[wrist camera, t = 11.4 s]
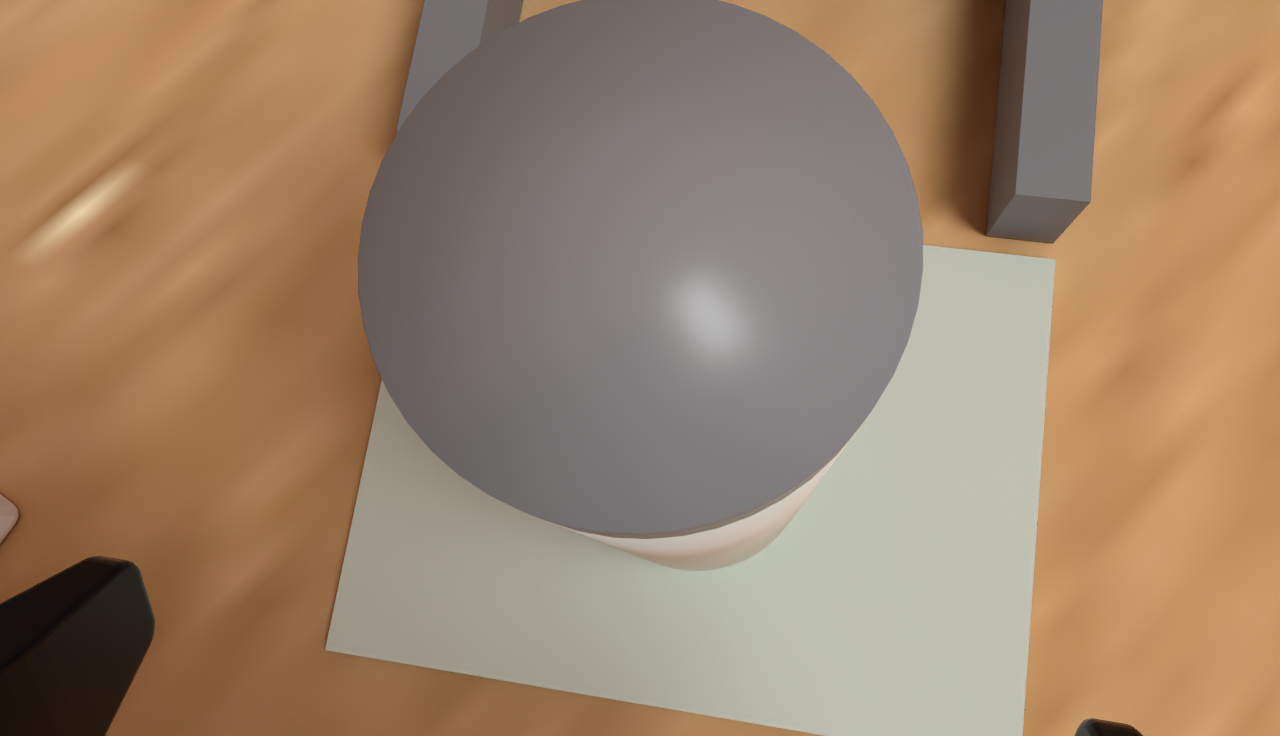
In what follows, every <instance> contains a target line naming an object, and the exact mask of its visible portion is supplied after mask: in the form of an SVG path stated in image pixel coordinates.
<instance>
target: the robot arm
mask: <svg viewBox="0 0 1280 736" xmlns="http://www.w3.org/2000/svg"><path fill="white" fill-rule="evenodd" d="M154 628H155V619H154V615H153V611H152V608H151V605H150V602H149V599H148V596H147V592H146V589H145V586H144V583H143V580H142V576H141V573H140V571H139V569H138V567H137V566H136V565H135V564H134V563H133V562H130V561H127V560H121V559H115V558H109V557H102V556H95V557H90V558H87V559H85V560H82V561H80V562H79V563H77V564H75V565H73V566H71V567H69V568H67V569H65V570H63V571H61V572H60V573H58V574H56V575H54V576H52V577H50V578H48V579H46V580H44V581H42V582H41V583H39V584H37V585H35V586H33V587H31V588H29V589H27V590H25V591H24V592H22V593H20V594H18V595H16V596H14V597H12V598H10V599H8V600H6V601H5V602H3V603H1V604H0V736H105V735H106V733H107V731H108V729H109V727H110V725H111V723H112V721H113V719H114V717H115V715H116V713H117V711H118V709H119V707H120V705H121V703H122V701H123V699H124V697H125V695H126V693H127V690H128V688H129V686H130V684H131V682H132V680H133V678H134V676H135V674H136V672H137V670H138V668H139V666H140V664H141V662H142V660H143V658H144V656H145V654H146V652H147V650H148V648H149V646H150V644H151V641H152V638H153V635H154ZM1075 736H1143V735H1142V734H1141V733H1140V732H1139V731H1138V730H1136V729H1135V728H1134V727H1132V726H1130V725H1127V724H1123V723H1117V722H1111V721H1105V720H1099V719H1093V718H1092V719H1086V720H1084V721H1083V722H1082V723H1081V724H1080V726H1079V727H1078V729H1077V731H1076V734H1075Z"/></svg>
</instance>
